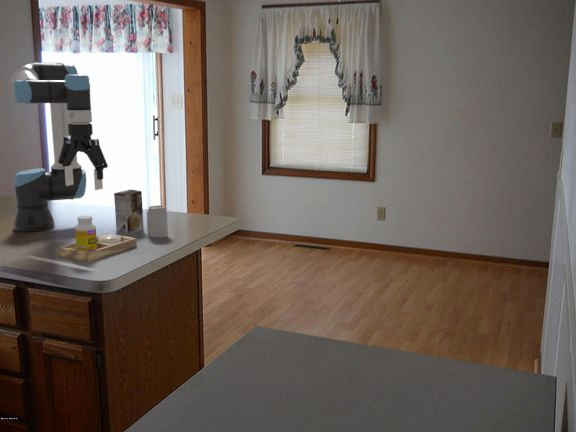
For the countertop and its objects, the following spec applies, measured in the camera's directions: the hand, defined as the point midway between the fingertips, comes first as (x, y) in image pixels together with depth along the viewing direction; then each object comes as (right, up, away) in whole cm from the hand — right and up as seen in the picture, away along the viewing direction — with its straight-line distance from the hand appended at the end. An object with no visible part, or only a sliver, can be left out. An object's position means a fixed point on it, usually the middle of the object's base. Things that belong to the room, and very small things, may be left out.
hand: (84, 187), depth 200 cm
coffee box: (+6, -16, +36) cm, 40 cm away
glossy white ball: (+6, -21, +11) cm, 24 cm away
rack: (+3, -22, +6) cm, 24 cm away
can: (+19, -18, +28) cm, 38 cm away
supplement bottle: (0, -23, +2) cm, 23 cm away
